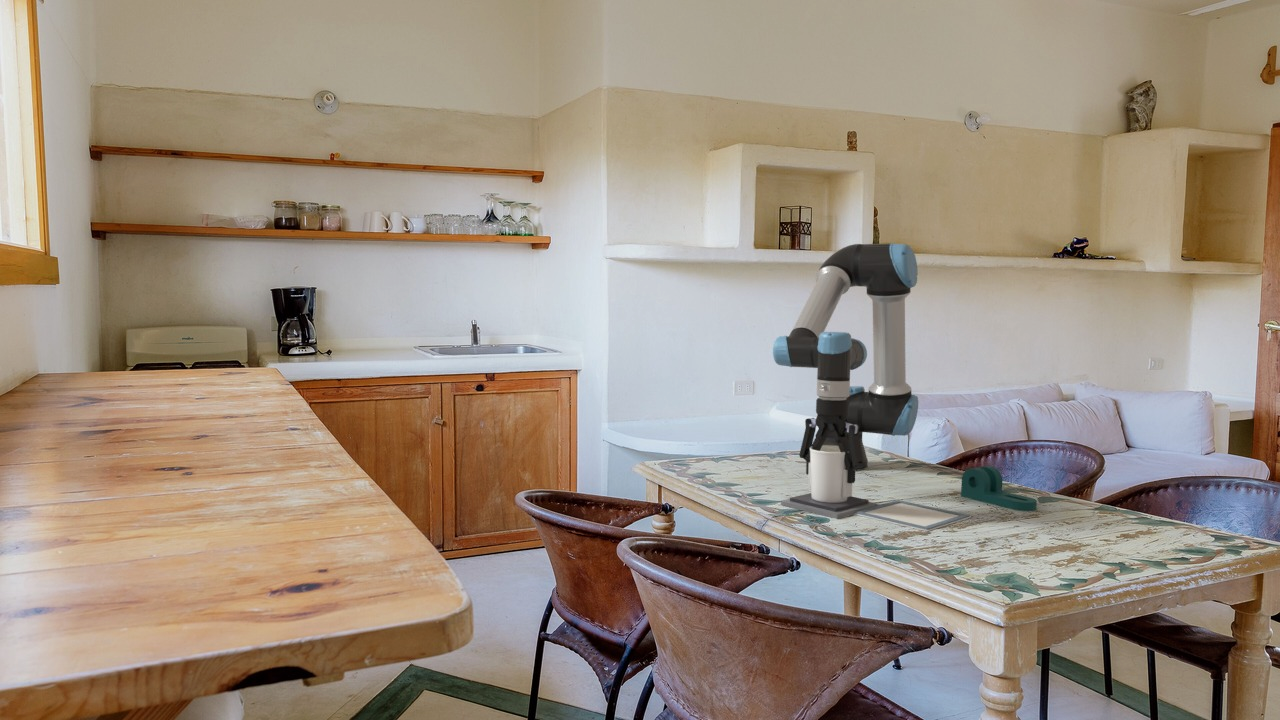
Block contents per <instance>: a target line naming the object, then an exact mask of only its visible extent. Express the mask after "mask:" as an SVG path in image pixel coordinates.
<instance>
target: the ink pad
mask: <svg viewBox="0 0 1280 720" xmlns="http://www.w3.org/2000/svg"><path fill="white" fill-rule="evenodd" d="M780 506H783V507H787V508H792V509H796V510H799V511H804V512H809V513H812V514H817V515H820V516H824V517H829V518H832V519H841V518H844V517H849V516H852V515H855V514H854V513H855V512H856V511H860V510H864V509H868V508H871V507H875V506H878V503H877V502H872V501H870V500H869V499H865V498H859V497H856V496H853V495H852V496H850V497H847V501H845V502H841V503H826V502H819V501H816V500H813V499H812V497H811V492H810V493H809V492H808V493H805V494H800V495H797V496H796V495H795V496H793V497H792V496H791V497H790V498H788V499H783V500H780Z"/></svg>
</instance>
